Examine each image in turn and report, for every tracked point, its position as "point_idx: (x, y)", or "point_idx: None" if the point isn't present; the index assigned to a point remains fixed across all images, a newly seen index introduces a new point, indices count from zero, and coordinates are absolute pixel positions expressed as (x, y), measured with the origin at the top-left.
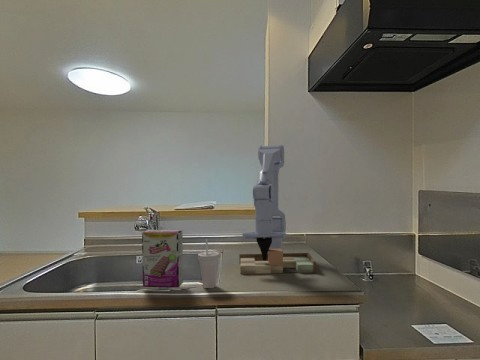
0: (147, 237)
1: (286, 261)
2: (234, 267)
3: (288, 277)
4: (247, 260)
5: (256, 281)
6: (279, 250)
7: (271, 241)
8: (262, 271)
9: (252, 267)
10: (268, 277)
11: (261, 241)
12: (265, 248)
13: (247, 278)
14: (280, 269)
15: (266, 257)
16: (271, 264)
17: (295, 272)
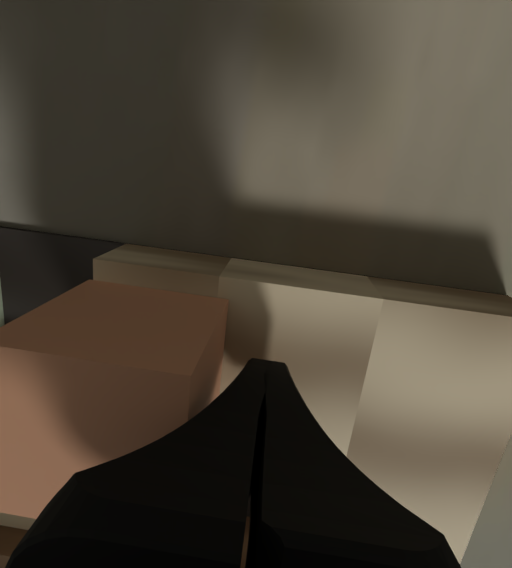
0: None
1: None
2: (497, 482)
3: (94, 102)
4: (407, 506)
5: (425, 12)
6: (23, 412)
7: (41, 516)
8: (305, 272)
9: (412, 297)
10: (276, 135)
11: (353, 563)
12: (243, 435)
13: (485, 137)
14: (134, 254)
15: (243, 368)
16: (205, 299)
17: (18, 229)
